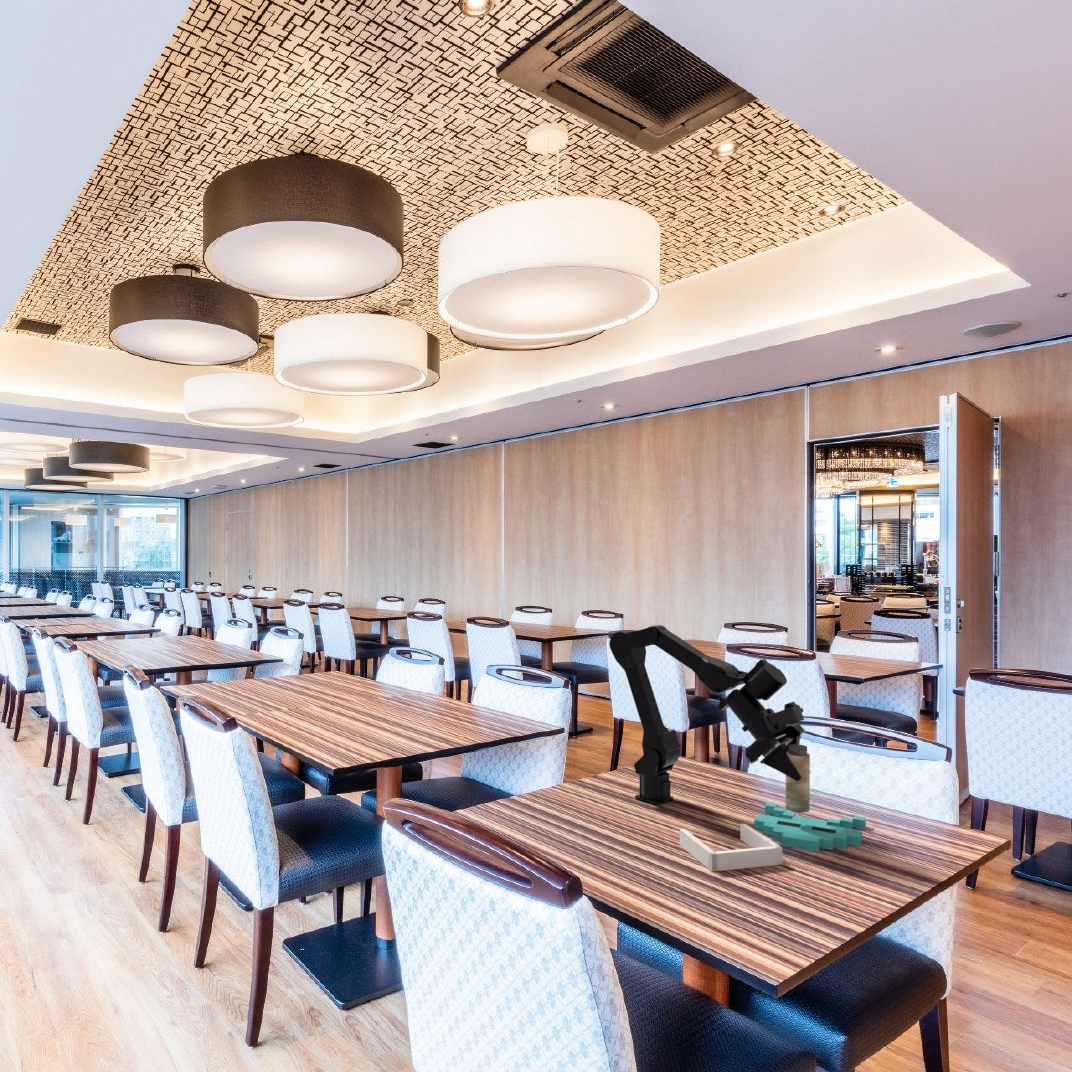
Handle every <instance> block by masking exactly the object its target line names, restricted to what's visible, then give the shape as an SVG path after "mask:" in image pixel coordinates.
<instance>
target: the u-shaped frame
mask: <svg viewBox="0 0 1072 1072" xmlns="http://www.w3.org/2000/svg"><path fill="white" fill-rule="evenodd" d="M739 824H740V828H739V829H740V830H739V832H740V833H739V834H740V840H741V841H742V842H743V843H745V844H746V845H747V846H749V848H740V849H729V850H720V851H714V850H713V849H712V848H711V847H709V846H708V845H706V844H705V843H704V842H702V841H701V840H700V839H698V838H697V837H696V836H695V835H694V834H692V833H691V832H689V831H688V830H687V829H685V828H680V829H679V846H680V847H681V848H683V849H684V850H685V851H686V852H687V853H688V854H690V855H691V856H692V857H693V858H695V860H697V861H698V862H699V863H701V864H702V865H703V866H705V868H707V869H708V870H709V871H711V873H712V872H721V871H730V870H731V871H733V870H741V869H751V868H761V867H769V866H770V867H771V866H772V867H773V866H779V865H783V846H782V845H781V846H780V845H779V844H778V843H776V842H774V840H772V839H769V837H767V836H766V835H765V834H763V833H761V832H759V831H758V830H757V829H754V827H753V828H752V827H751V826H749V825H748V824H746V823H739Z"/></svg>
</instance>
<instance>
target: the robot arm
mask: <svg viewBox="0 0 1072 1072" xmlns="http://www.w3.org/2000/svg"><path fill="white" fill-rule="evenodd" d="M608 643H609V644H608V645H609V650H610V651H611V653H612V655H613V657H614V660H615V661H616V662H617V664H619V666H620V667H621V668H622V670H624V673H625V675H626V678H627V681H628V682H627V683H628V685H629V688H630V692H631V695H632V698H633V701H634V704H635V707H636V711H637V715H638V717H639V720H640V724H641V727H642V732H643V734H642V741H641V747H642V754H643V755H642V756H641V757H640V758H638V759H637V761H635V762H634V764H633V767H634V771H635V774H637V775H639V793H638V794H636V795H634V798H635V799H637V800H640V801H642V802H643V801H644V802H647V803H649V804H653V805H660V804H662V803H665V802H669V801H671V800H674V796H672V795H671V780H670V773H669V771H672V770H673V767H674V765H675V764H676V763H677V762H678V760H679V758H680V756H681V750H680V748H682V746H681V744H680V743H679V741H678V735H677V732H676V730H674V729H673V730H671V731H670V730H669V729H668V728H667V727H666V726H665V724H664V722H663V719H662V715H661V713H660V708H659V706H658V703H657V699H656V696H655V694H654V691H653V687H652V684H651V680H650V678H649V674H648V672H647V669H646V656H647V650H646V649H647V648H646V647H649V646H653V645H655V646H656V647H657V648H659V649H660V650H662V651H663V652H665V653H666V654H668V655H670V656H671V658H674V659H675V660H677V661H679V663H681V664H683V665H684V666H686V667H687V668H688V669H689V670H691V671H692V672H693V673H694V674H695V675H696V677H697V679H698V680H699V682H701V683H702V685H704V686H705V687H706V689H708V690H709V691H710V692H713V693H714V694H720V693H723V692H726V691H727V692H728V691H730V693H728V694H727V695H726V696H725V695H723V696H720V697H718V700H719V703H718V708H717V709H718V710H719V711H723V710H726V709H728V708H729V709H730V710H731V711H732V713H733V714H734V715H735V717H737V719H738V720H739V721H740V723H741V724H742V725H743V726H742V727H741V730H742V731H743V732H744V733H746V732H748V733H749V734H750V735H751V736H752V737H753V738H754V742H753V743H751V744H750V745H748V747H746V749H745V751H744V756H745V758H746V759H747V760H748V762H749V763H750V764H751V765H752V764H754V763H756V762H757V761H759V758H760V757H761V756H762V757H763V758H762V759H761V760H760V761H759V763H760V764H762V765H763V764H764V765H765V766H768V767H770V768H772V769H774V770H775V771H778V772H780V773H781V774H784V775H785V776H786V775H787V776H789V777H791V778H792V779H794V780H796V781H799V780H800V779H801V776H800V774H799V772H798V771H797V769H796V768H795V766H794V765H793V763H792V762H791V760H790V759H789V757H788V756H787V754H786V752H788V745H790V744H799V745H800V741H801V739H802V734H803V733H805V731H806V730H805V729H804V727H803V726H802V725H801V724H800V722H802V721H804V720H805V718H804V715H803V712H804V709H803V707H801V706H800V704H797V703H795V701H791V702H788V703H786V704H784V706H783V707H784V709H782V710H780V711H776V712H775V711H774V710H773V709H772V708H769V707H768V708H766V707H765V706H764V705H763V704H762V703H761V702H760V700H763V701H769V700H770V699H771V698H772V697H773V696H774V695H775V694H777V692H779V691H780V689H782V688H783V687H784V686H785V685H786V684H787V683H788V680H787V678H786V676H785V674H784V672H783V671H782V670H781V669H779V668H777V667H776V666H775V665H774V664H772V663H771V662H768V661H767V660H766V659H765V658H762V659H760V660H759V661H758V662H756V664H754V665H755V666H753V667H752V668H751V670H749V671H748V672H747V671H743V670H739V668H737V667H736V666H735V665H734V664H732V663H730V662H727V661H725V660H723V659H721V658H720V659H719V658H716V657H712V656H710V655H707V654H705V653H704V652H702V651H701V650H699V649H698V648H696V647H694V646H693V645H691V644H690V643H688V642H686V641H685V640H684V639H682V638H681V637H679V636H677V635H676V634H675V633H673V632H671V631H670V630H669V629H668V628H667V627H666V626H665V625H662V624H657V625H655V624H654V625H649V626H648V627H645V628H643V629H638V630H634V629H631V630H624V631H616V632H615V633H613V634H612V635H611V637H610V640H609V642H608ZM741 685H743V686H742V687H741V688H740V689H737V687H738V686H741ZM735 688H736V689H735Z"/></svg>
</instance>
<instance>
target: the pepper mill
mask: <svg viewBox="0 0 1072 1072" xmlns="http://www.w3.org/2000/svg"><path fill="white" fill-rule="evenodd" d="M786 754H787V756H788V757H789V759H790V760H791V762H792V763H793V765H794V766H795V768H796V769H797V771H798V772H799V774H800V776H801V779H800V780H799V781H796V780H794V779H792V778H791V777H789V776H787V775H785V808H786V810H787V811H789V812H792V813H809V812H810V810H811V808H810V807H811V806H810V804H811V800H810V798H811V796H810V795H811V793H810V792H811V784H810V783H811V782H810V781H811V775H810V774H811V766H810V765H811V754H809V753H808V746H806V745H804V744H800V743H799V744H790V745H788V752H786Z"/></svg>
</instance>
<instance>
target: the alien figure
mask: <svg viewBox="0 0 1072 1072" xmlns="http://www.w3.org/2000/svg"><path fill="white" fill-rule="evenodd" d="M866 817H867V816H866ZM866 817H864V816H858V815H853V817H852V818H851V817H846V816H845V817H843V816H841V818H840V819H835V818H828V819H827V821H826V820H821V819H820V820H819V819H813V818H807V817H802V816H796V812H792V811H787V809H786V807H780V806H779V807H778V803H774V802H773V803H772V802H766V804H765V805H764V814H761V813H759V814H757V815H756V817H755V818H754V820H753V829H754V830H756V831H762V835H764V836H770V835H771V837H772V838H771V841H778V842H781V847H788V848H794V849H801V850H806V851H811V852H816V853H817V852H820V849H823V850H829V851H833V849H834V848H835V847H837V848H840V849H847V847H848V846H854V847H858V848H859V847H861V844H862V841H863V839H862V838H863V831H862V830H865V829H866V827H865V826H866V824H867V822H866V820H867V819H866ZM854 827H856V828H854ZM860 828H862V829H860Z"/></svg>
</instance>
